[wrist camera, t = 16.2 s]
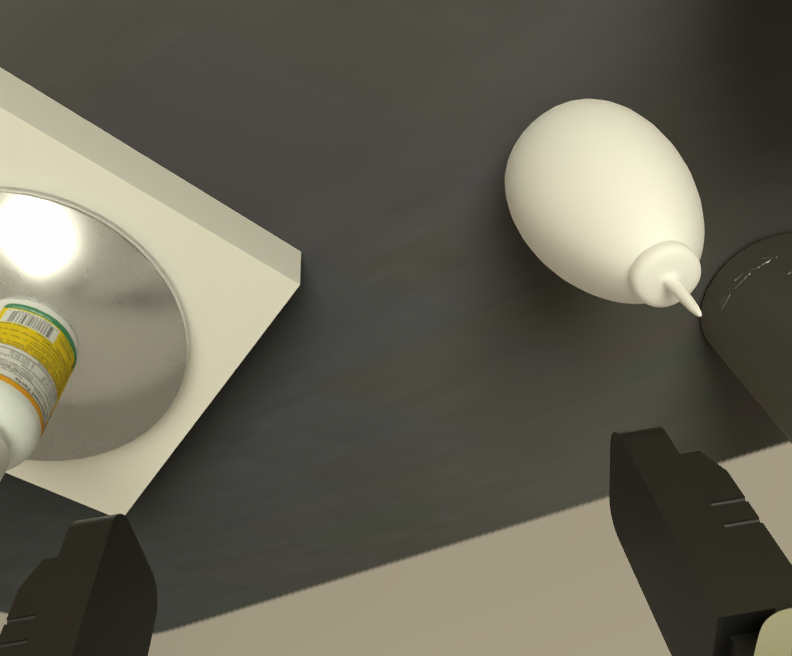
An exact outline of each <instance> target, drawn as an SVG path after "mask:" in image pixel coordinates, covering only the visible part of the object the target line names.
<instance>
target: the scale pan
mask: <svg viewBox="0 0 792 656" xmlns="http://www.w3.org/2000/svg"><path fill="white" fill-rule="evenodd" d="M6 299H23V300H29V301H33V302H36V303H39V304H42V305H44V306H46V307H48V308H50V309H51V310H53V311H55V312H56V313H57V314H58V315H60V316H61V317H62V318H63V319H64V320H65V321H66V322H67V323H68V324H69V326H70V327H71V329H72V331H73V332H74V334H75V337H76V339H77V343H78V348H79V355H78V360H77V363H76V365H75V367H74V370H73V372H72V374H71V376H70V378H69V380H68V382H67V384H66V387H65V389H64V391H63V393H62V395H61V397H60V399H59V401H58V403H57V405H56V407H55V409H54V411H53V413H52V415H51V417H50V420H49V422H48V424H47V426H46V428H45V430H44V432H43V434H42V437H41V439H40V440H39V442H38V444H37V446H36V448H35V449H34V451H33V452H32V454H31V455H30V456H29V457H28V458H27V459H26V460H35V461H66V460H74V459H82V458H87V457H91V456H96V455H100V454H103V453H106V452H109V451H111V450H114V449H117V448H119V447H121V446H123V445H125V444H127V443H129V442H131V441H133V440H135V439H136V438H138V437H139V436H141V435H142V434H144V433H145V432H146V431H148V430H149V429H150V428H151V427H152V426H153V425H155V424H156V423H157V422H158V421H159V420H160V419H161V417H162V416H163V415H164V414H165V413H166V412H167V410H168V409H169V407H170V406H171V404H172V402H173V401H174V399H175V398H176V396H177V393H178V391H179V389H180V386H181V384H182V381H183V377H184V373H185V369H186V364H187V360H188V350H189V336H188V326H187V321H186V317H185V313H184V310H183V306H182V304H181V302H180V299H179V297H178V294H177V292H176V290H175V288H174V286H173V285H172V283H171V281H170V280H169V278H168V276H167V274H166V273H165V272H164V270H163V269H162V268H161V266H160V265H159V264H158V262H157V261H156V260H155V259H154V257H153V256H152V255H151V254H150V253H149V252H148V251H147V250H146V249H145V248H144V247H143V246H142V245H141V244H140V243H139V242H138V241H137V240H136V239H134V238H133V237H132V236H131V235H129V234H128V233H127V232H126V231H124V230H123V229H122V228H121V227H119V226H118V225H116V224H114V223H113V222H111V221H110V220H108V219H107V218H105V217H104V216H102V215H100V214H98V213H96V212H94V211H92V210H90V209H88V208H86V207H84V206H82V205H80V204H78V203H75V202H72V201H70V200H67V199H64V198H61V197H59V196H56V195H52V194H48V193H44V192H40V191H36V190H31V189H24V188H16V187H9V186H0V300H6Z"/></svg>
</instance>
